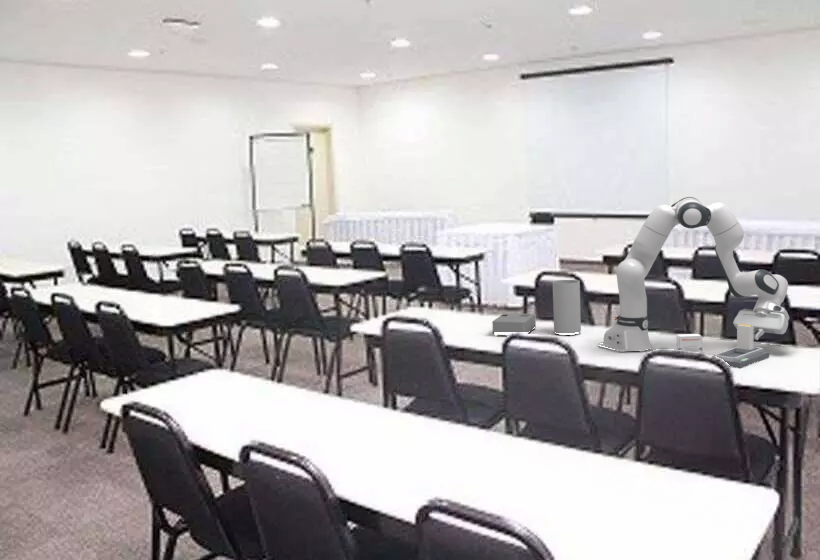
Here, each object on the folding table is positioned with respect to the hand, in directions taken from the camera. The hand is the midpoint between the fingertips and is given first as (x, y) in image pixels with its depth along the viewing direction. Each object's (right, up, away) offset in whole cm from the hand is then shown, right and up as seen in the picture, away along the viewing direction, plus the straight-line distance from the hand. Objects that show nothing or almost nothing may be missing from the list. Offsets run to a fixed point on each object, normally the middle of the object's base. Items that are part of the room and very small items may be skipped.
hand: (753, 338), depth 293 cm
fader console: (-9, -8, -6) cm, 13 cm away
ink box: (-29, -9, -9) cm, 32 cm away
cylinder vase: (-61, -2, +59) cm, 85 cm away
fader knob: (-5, -5, -3) cm, 8 cm away
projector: (-85, -3, +69) cm, 109 cm away
